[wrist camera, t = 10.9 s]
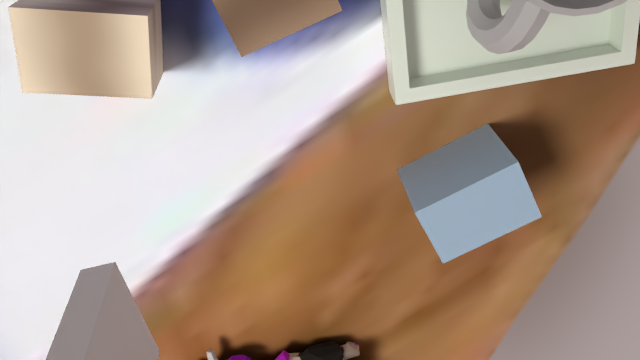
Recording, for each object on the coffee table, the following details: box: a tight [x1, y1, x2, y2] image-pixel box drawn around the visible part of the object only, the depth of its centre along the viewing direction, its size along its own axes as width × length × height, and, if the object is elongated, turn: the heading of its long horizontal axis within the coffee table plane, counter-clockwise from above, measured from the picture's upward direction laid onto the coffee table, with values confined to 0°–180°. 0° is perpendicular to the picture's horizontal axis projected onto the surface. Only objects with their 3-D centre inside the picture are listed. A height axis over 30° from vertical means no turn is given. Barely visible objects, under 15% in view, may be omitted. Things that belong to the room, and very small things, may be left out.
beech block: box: [8, 0, 164, 99], centre depth 30 cm, size 6×4×4 cm, turn 85°
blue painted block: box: [397, 124, 542, 263], centre depth 35 cm, size 4×6×5 cm, turn 119°
